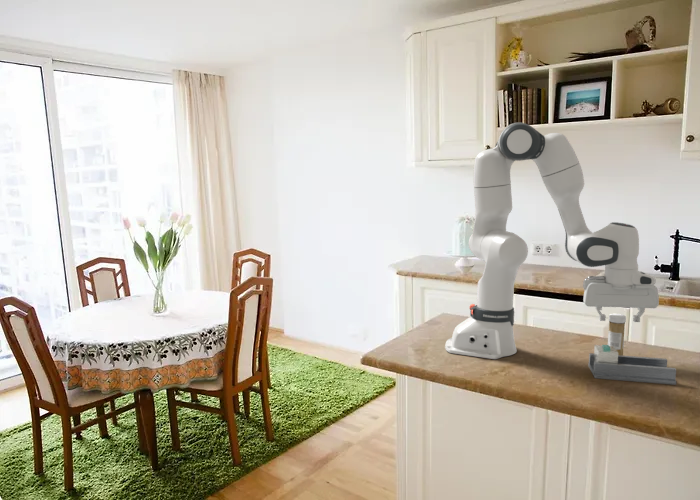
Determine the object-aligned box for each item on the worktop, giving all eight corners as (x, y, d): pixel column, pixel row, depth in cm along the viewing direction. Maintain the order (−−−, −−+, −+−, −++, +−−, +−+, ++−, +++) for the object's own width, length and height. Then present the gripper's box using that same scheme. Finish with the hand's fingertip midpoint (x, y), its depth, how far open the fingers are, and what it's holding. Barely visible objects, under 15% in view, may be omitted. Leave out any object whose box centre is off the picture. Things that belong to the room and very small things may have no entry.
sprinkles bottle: (626, 358, 160) (629, 315, 158) (617, 361, 157) (620, 317, 155) (611, 353, 163) (614, 312, 162) (603, 356, 161) (606, 314, 159)
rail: (594, 378, 145) (596, 351, 143) (588, 365, 154) (589, 339, 153) (676, 384, 139) (678, 356, 138) (664, 371, 149) (666, 344, 148)
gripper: (585, 278, 156) (583, 322, 158) (661, 279, 151) (659, 325, 153) (581, 273, 162) (580, 316, 164) (655, 274, 157) (653, 319, 159)
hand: (619, 321), depth 159 cm, fingers open, 8 cm apart
